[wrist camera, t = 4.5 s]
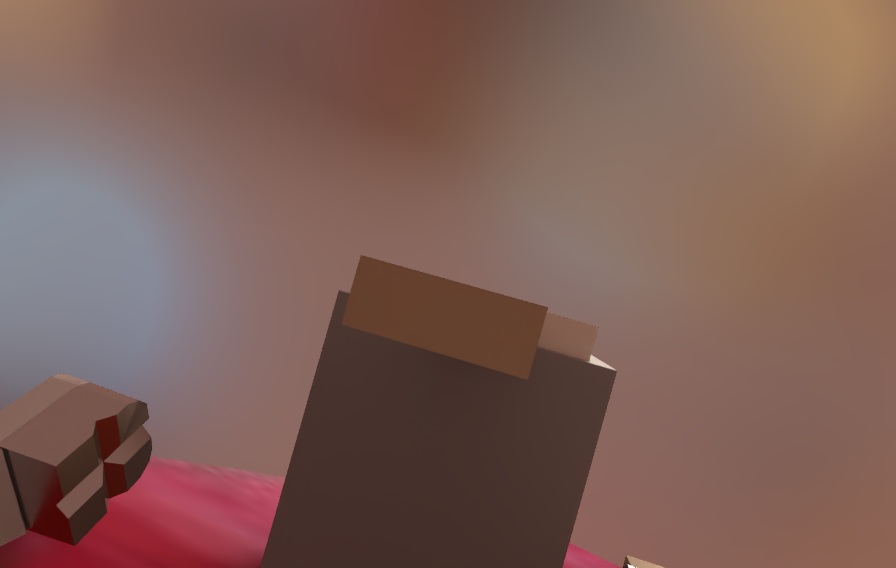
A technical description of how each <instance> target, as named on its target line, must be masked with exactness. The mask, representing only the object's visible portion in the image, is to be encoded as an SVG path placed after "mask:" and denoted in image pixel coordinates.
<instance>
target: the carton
mask: <svg viewBox="0 0 896 568" xmlns="http://www.w3.org/2000/svg"><path fill="white" fill-rule="evenodd" d="M349 295H350V291H341V290H339V292H338V296H337V299H336V303H335V306H334V310H333V313H332V317H331V321H330V324H329V328H328V331H327V334H326V338H325V341H324V345H323V348H322V352H321V355H320V359H319V362H318V366H317V369H316V373H315V376H314V380H313V383H312V388H311V391H310V394H309V398H308V401H307V405H306V408H305V412H304V415H303V419H302V422H301V426H300V429H299V433H298V436H297V440H296V443H295V447H294V450H293V454H292V457H291V461H290V464H289V468H288V471H287V475H286V478H285V482H284V485H283V489H282V493H281V496H280V500H279V503H278V507H277V510H276V514H275V517H274V521H273V524H272V528H271V531H270V535H269V538H268V542H267V545H266V549H265V552H264V556H263V559H262V563H261V566H260V568H562V567H563V563H564V560H565V556H566V552H567V549H568V545H569V542H570V538H571V534H572V531H573V527H574V524H575V520H576V516H577V513H578V509H579V506H580V502H581V499H582V495H583V491H584V488H585V484H586V481H587V477H588V473H589V470H590V466H591V463H592V459H593V456H594V452H595V448H596V445H597V441H598V438H599V434H600V431H601V427H602V423H603V420H604V416H605V412H606V409H607V405H608V402H609V398H610V395H611V391H612V387H613V384H614V380H615V377H616V373H617V371H616V370H615V369H613V368H612V367H610V366H608V365H607V364H605V363H603V362H602V361H600V360H598V359H597V358H595V357H593V356H592V355H591V357H590V361H586V360H583V359H579V358H576V357H572V356H569V355H565V354H562V353H558V352H555V351H552V350H548V349H545V348H541V347H538V346H537V349H536V353H535V356H534V360H533V363H532V367H531V370H530V374H529V378H528V380H527V379H523V378H520V377H517V376H513V375H510V374H507V373H503V372H500V371H497V370H493V369H490V368H487V367H483V366H480V365H476V364H473V363H470V362H466V361H463V360H460V359H456V358H453V357H450V356H446V355H443V354H439V353H436V352H433V351H429V350H426V349H423V348H419V347H416V346H413V345H409V344H406V343H402V342H399V341H396V340H392V339H389V338H386V337H382V336H379V335H376V334H372V333H369V332H365V331H362V330H359V329H355V328H352V327H349V326H345V325H342V324H341V323H342V320H343V316H344V313H345V309H346V306H347V302H348V299H349Z"/></svg>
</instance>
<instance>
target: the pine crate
mask: <svg viewBox="0 0 896 568" xmlns="http://www.w3.org/2000/svg"><path fill="white" fill-rule="evenodd" d="M627 564H628V565H631V566H634V567H637V568H664V567H661V566H658V565H655V564H652V563H649V562H646V561H643V560H640V559H637V558H634V557H631V556H628V555H626V558H625V562H624V565H623V567H624V566H626V565H627Z"/></svg>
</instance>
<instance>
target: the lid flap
mask: <svg viewBox="0 0 896 568" xmlns="http://www.w3.org/2000/svg"><path fill="white" fill-rule="evenodd" d="M547 310H548V307H545V306H541V305H537V304H534V303H530V302H527V301H523V300H520V299H516V298H512V297H509V296H505V295H501V294H498V293H495V292H491V291H487V290H484V289H480V288H477V287H473V286H470V285H466V284H462V283H459V282H455V281H451V280H448V279H445V278H441V277H437V276H434V275H430V274H426V273H423V272H419V271H416V270H412V269H408V268H405V267H402V266H398V265H395V264H391V263H387V262H384V261H380V260H377V259H373V258H370V257H366V256H362V255H361V256H360V260H359V263H358V267H357V270H356V274H355V278H354V281H353V285H352V288H351V291H350V295H349V299H348V302H347V306H346V309H345V313H344V316H343V320H342V323H341V324H342V325H345V326H349V327H352V328H355V329H359V330H362V331H365V332H369V333H372V334H376V335H379V336H382V337H386V338H389V339H392V340H396V341H399V342H402V343H406V344H409V345H413V346H416V347H419V348H423V349H426V350H429V351H433V352H436V353H439V354H443V355H446V356H450V357H453V358H456V359H460V360H463V361H466V362H470V363H473V364H476V365H480V366H483V367H487V368H490V369H493V370H497V371H500V372H503V373H507V374H510V375H513V376H517V377H520V378H523V379H527V380H528V378H529V374H530V370H531V367H532V363H533V360H534V356H535V353H536V349H537V346H538V347H541V348H545V349H548V350H552V351H555V352H558V353H562V354H565V355H569V356H572V357H576V358H579V359H583V360H586V361H590V357H591V354H592V350H593V346H594V343H595V339H596V336H597V332H598V329H599V327H596V326H593V325H589V324H585V323H582V322H579V321H575V320H572V319H568V318H564V317H561V316H557V315H554V314H550V313H547Z"/></svg>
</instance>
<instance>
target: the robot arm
mask: <svg viewBox="0 0 896 568" xmlns="http://www.w3.org/2000/svg"><path fill="white" fill-rule="evenodd" d="M148 419H149V415H148V409H147V404H146V403H144V402H141V401H138V400H136V399H133V398H131V397H128V396H125V395H122V394H120V393H117V392H114V391H112V390H109V389H106V388H104V387H100V386H98V385H95V384H93V383H90V382H87V381H84V380H81V379H79V378H76V377H73V376H70V375H67V374H64V373H63V374H59V375H55V376H51V377H50V378H48V379H47V380H45V381H44V382H43V383H41V384H40V385H38V386H37V387H35V388H34V389H33V390H31V391H29V392H28V393H27V394H25V395H24V396H22V397H21V398H19V399H18V400H16V401H15V402H13V403H12V404H10V405H9V406H8V407H6V408H5V409H3V410H2V411H0V546H2V545H4V544H6V543H8V542H9V541H11V540H13V539H15V538H17V537H19V536H21V535H23V534H25V533H26V532H27V531H26V530H29V531H32V532H35V533H38V534H41V535H44V536H47V537H50V538H53V539H56V540H58V541H61V542H64V543H67V544H70V545H73V546H75V545H76V544H77V543H78V542H79V541H80V540H81V539H82V538H83V537H84V536H85V535H86V534H87V533H88V532H89V531H90V530H91V529H92V528H93V527H94V526H95V524H96V523H97V522H98V521H99V520H100V519H101V518H102V517H103V516H104V515H105V514H106V513H107V510H108V503H109V499H110V498H112V497H114V496H117V495H119V494H122V493H124V492H127V491H128V490H129V489H130V488H131V487H132V486H133V485H134V484H135V483H136V481H137V480H138V479H139V478H140V477H141V475H142V473H143V471H144V470H145V468H146V466H147V464H148V462H149V460H150V456H151V451H152V441H151V437H150V435H149V434H148V433H147V431H146V430H145V428H144V427H143V426H142V425H143V424H144V423H145V421H147V420H148ZM623 568H637V567H634V566H631V565H628V564H627V565H626V566H624V567H623Z"/></svg>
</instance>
